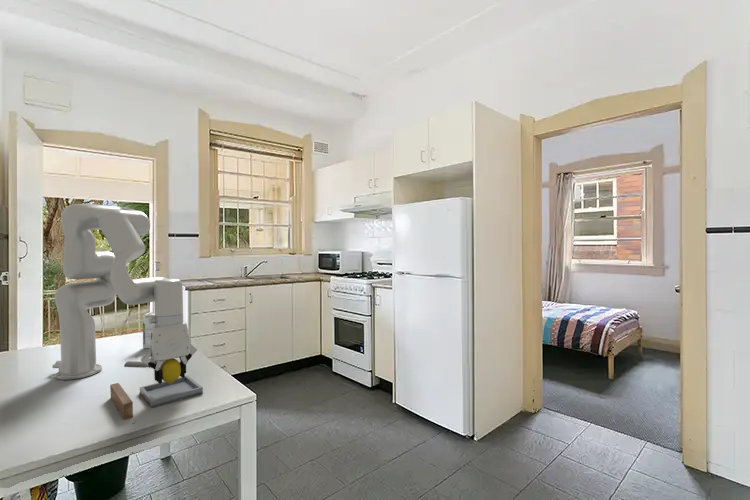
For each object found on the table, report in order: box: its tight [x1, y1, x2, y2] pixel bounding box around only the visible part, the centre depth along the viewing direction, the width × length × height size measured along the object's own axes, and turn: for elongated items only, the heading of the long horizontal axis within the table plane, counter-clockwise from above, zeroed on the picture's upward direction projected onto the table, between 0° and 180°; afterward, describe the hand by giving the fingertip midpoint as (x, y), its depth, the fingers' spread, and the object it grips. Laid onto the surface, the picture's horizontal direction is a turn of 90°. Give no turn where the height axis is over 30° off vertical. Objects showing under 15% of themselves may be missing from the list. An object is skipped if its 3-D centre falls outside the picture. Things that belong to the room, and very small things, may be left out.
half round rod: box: [123, 360, 164, 369], centre depth 137 cm, size 4×20×2 cm, turn 84°
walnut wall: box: [110, 382, 134, 420], centre depth 104 cm, size 2×18×4 cm, turn 44°
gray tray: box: [139, 375, 204, 409], centre depth 113 cm, size 14×14×2 cm
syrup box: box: [142, 311, 155, 349], centre depth 161 cm, size 6×6×14 cm
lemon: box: [160, 358, 181, 384], centre depth 113 cm, size 6×6×8 cm
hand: (170, 378), depth 113 cm, fingers closed on lemon, 5 cm apart
